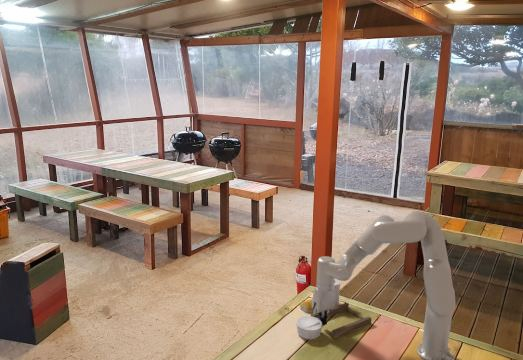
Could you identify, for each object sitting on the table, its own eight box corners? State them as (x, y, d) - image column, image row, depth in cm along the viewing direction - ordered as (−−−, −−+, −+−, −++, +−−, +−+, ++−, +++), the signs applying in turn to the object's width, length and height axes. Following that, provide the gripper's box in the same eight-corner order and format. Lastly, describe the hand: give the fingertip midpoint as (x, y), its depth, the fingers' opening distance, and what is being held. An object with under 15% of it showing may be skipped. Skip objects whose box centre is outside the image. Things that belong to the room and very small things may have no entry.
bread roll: (322, 309, 204) (322, 301, 203) (308, 314, 199) (309, 307, 198) (310, 302, 210) (310, 294, 210) (296, 307, 205) (297, 299, 204)
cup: (318, 301, 211) (319, 279, 208) (332, 298, 214) (333, 276, 211) (327, 309, 203) (329, 286, 201) (341, 306, 207) (343, 283, 204)
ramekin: (318, 343, 176) (318, 332, 175) (292, 337, 180) (292, 326, 179) (324, 329, 186) (324, 318, 185) (299, 324, 190) (300, 313, 189)
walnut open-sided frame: (370, 323, 192) (371, 317, 191) (334, 338, 180) (334, 331, 180) (346, 308, 205) (346, 302, 204) (310, 320, 193) (310, 314, 193)
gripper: (332, 278, 190) (330, 315, 194) (306, 285, 182) (304, 324, 186) (344, 284, 183) (341, 323, 187) (317, 292, 176) (315, 332, 180)
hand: (322, 323), depth 187 cm, fingers closed
